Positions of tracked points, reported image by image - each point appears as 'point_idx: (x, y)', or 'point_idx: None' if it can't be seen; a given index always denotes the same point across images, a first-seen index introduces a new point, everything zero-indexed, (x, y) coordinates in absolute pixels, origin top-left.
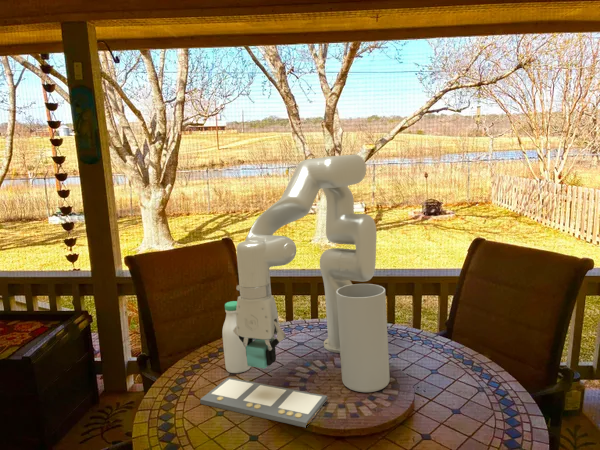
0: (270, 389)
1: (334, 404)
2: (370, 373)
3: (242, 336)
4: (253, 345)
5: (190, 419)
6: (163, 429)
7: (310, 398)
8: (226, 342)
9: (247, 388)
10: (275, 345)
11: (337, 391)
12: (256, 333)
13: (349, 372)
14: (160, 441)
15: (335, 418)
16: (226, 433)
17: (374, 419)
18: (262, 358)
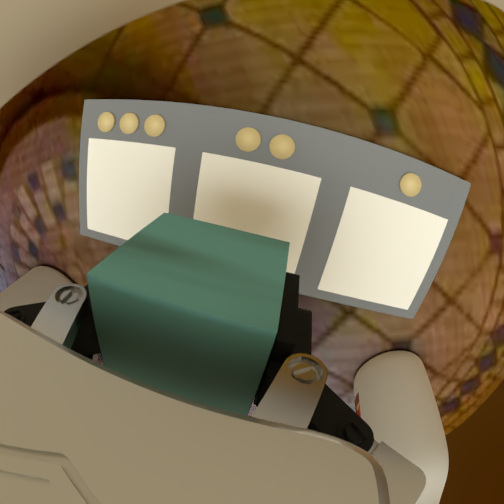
0: None
1: (71, 214)
2: (9, 286)
3: (299, 431)
4: (206, 346)
5: (458, 91)
6: (496, 54)
7: (107, 216)
8: (434, 427)
9: (331, 258)
10: (30, 304)
11: (86, 271)
12: (27, 398)
13: (38, 296)
14: (472, 5)
15: (54, 158)
16: (310, 17)
17: (11, 176)
18: (143, 240)
